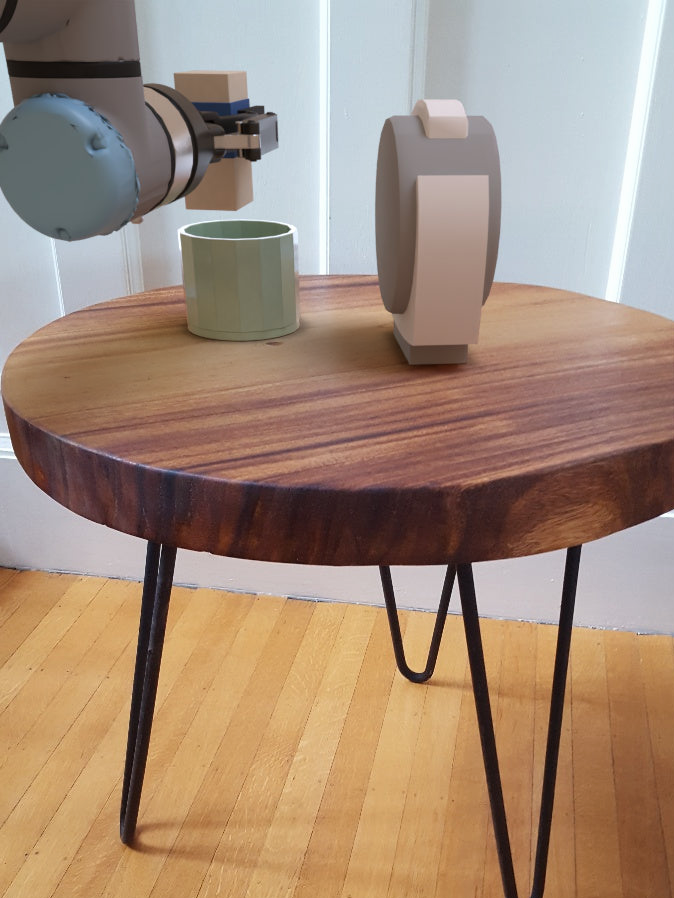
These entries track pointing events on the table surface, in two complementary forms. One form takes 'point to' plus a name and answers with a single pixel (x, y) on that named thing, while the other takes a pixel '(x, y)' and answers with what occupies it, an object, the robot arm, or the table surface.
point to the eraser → (232, 175)
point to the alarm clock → (437, 227)
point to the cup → (240, 279)
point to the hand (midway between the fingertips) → (231, 122)
